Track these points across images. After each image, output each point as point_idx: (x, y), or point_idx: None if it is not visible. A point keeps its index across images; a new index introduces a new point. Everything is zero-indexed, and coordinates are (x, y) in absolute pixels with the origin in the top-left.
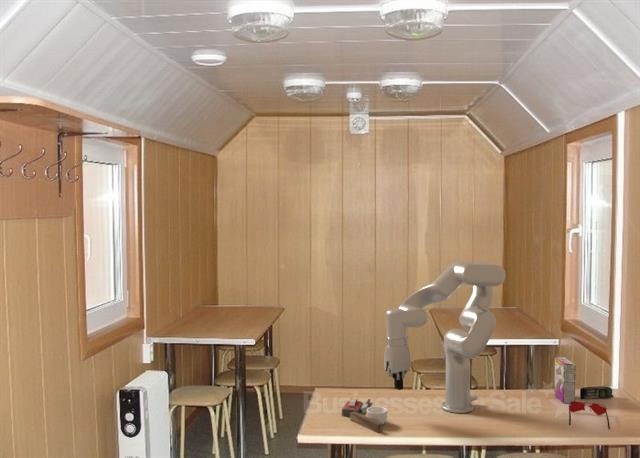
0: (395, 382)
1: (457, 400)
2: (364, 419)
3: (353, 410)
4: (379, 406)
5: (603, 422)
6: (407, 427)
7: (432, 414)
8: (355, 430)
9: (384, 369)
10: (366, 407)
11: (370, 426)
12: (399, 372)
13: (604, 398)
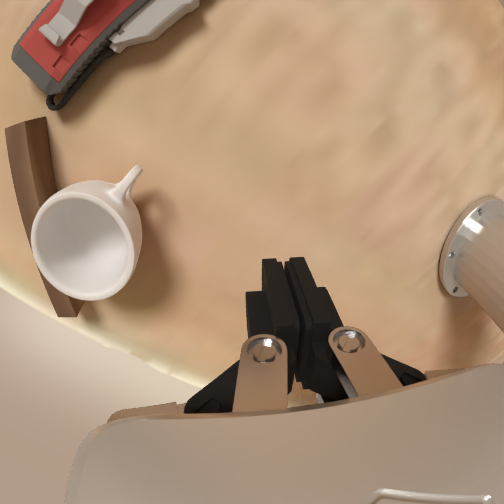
0: (249, 335)
1: (473, 296)
2: (29, 237)
3: (39, 86)
4: (115, 212)
5: None
6: (200, 309)
7: (389, 249)
8: (9, 237)
9: (80, 449)
10: (155, 32)
11: None
12: (364, 387)
13: None
